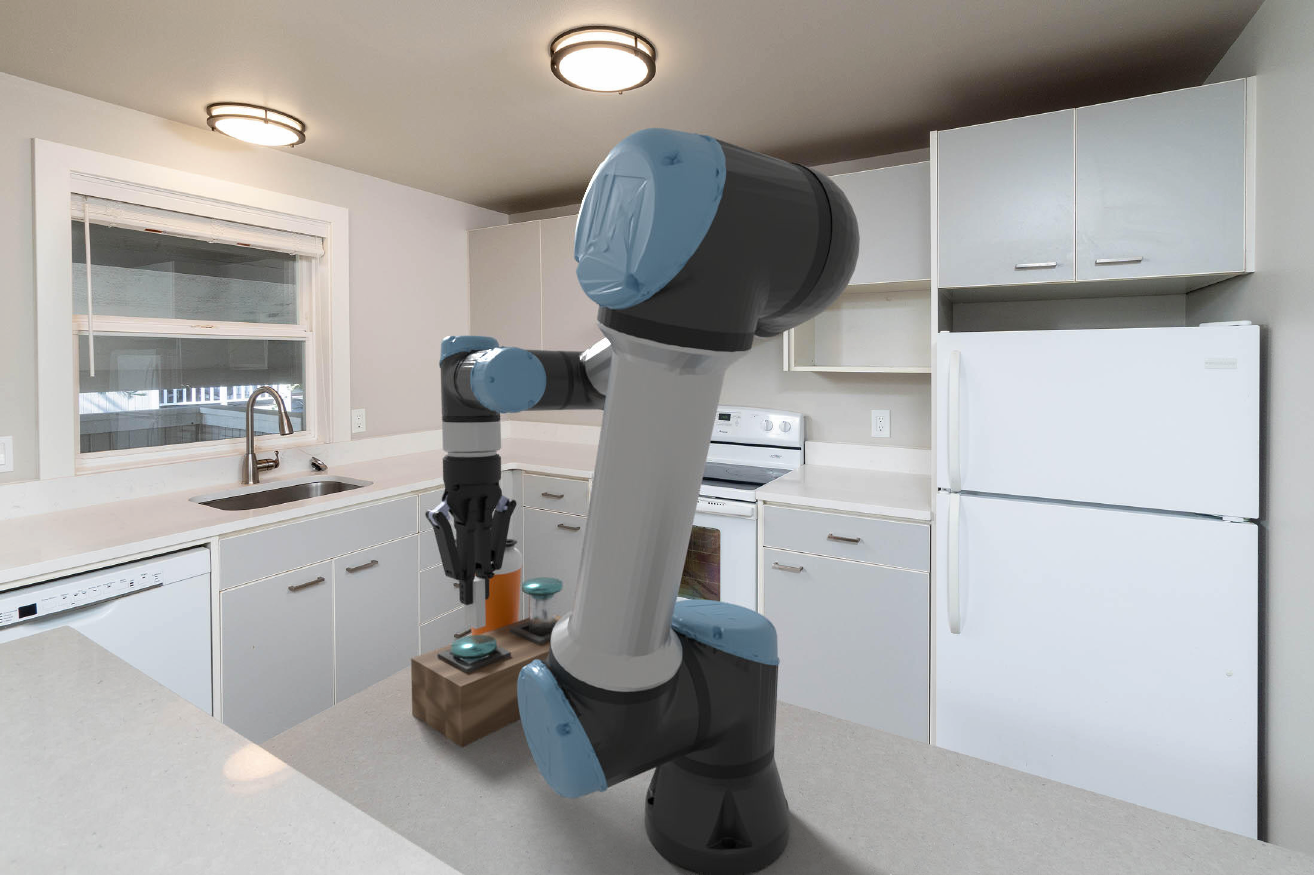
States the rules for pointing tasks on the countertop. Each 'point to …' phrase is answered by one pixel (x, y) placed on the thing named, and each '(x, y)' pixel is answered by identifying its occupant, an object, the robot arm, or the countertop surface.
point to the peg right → (542, 603)
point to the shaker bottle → (503, 592)
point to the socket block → (475, 684)
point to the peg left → (473, 647)
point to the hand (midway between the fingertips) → (475, 624)
